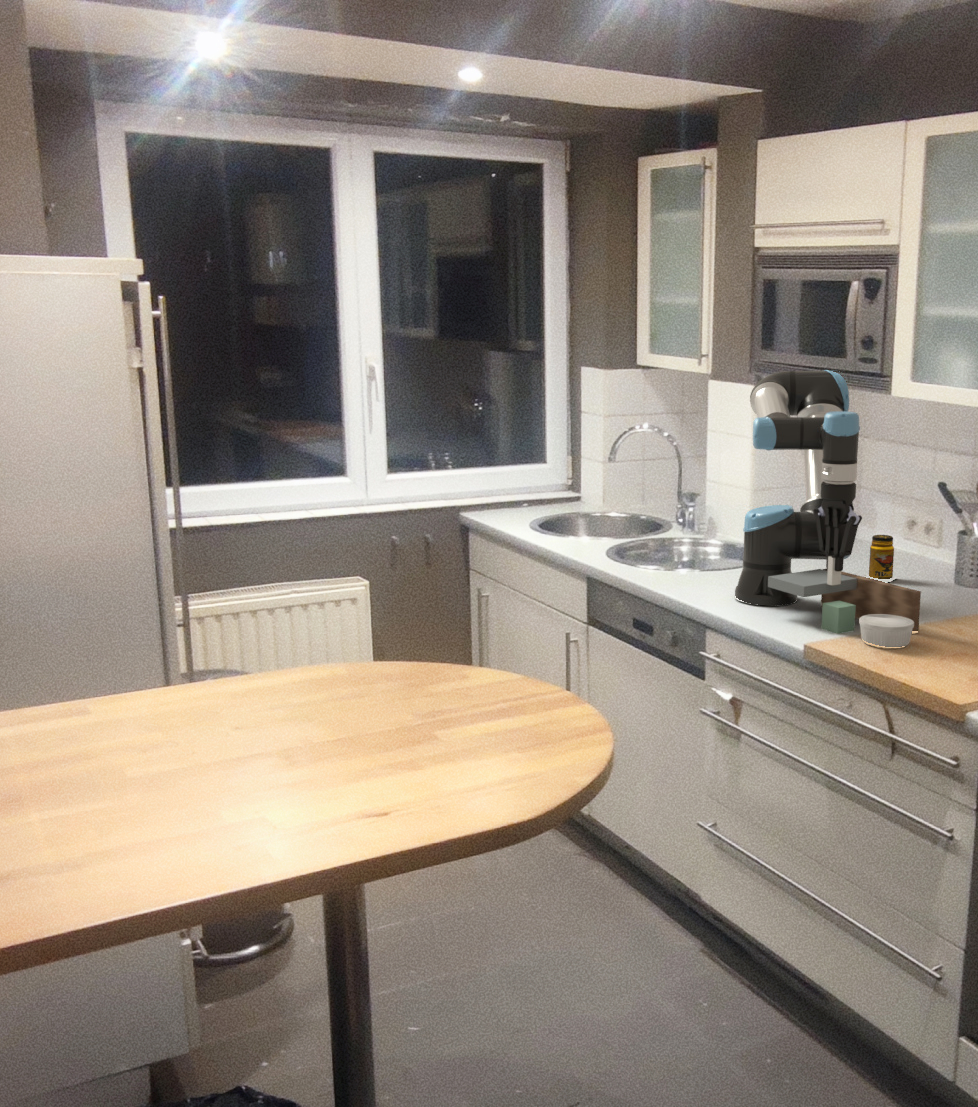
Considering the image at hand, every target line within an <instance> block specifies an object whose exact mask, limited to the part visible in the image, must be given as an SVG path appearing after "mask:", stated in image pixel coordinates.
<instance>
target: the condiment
mask: <svg viewBox="0 0 978 1107" xmlns="http://www.w3.org/2000/svg"><path fill="white" fill-rule="evenodd" d="M871 538H872V540H871V545H870V546H869V563H868V564H869V565H868V574H869V576H870V577H873V578H878V579H890V578H894V577H893V575H894V556H895V547H894V541H893V540H894V537H893V536H892V535H888V534H875V535H873V536H872V537H871Z"/></svg>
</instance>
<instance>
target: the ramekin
mask: <svg viewBox="0 0 978 1107" xmlns="http://www.w3.org/2000/svg"><path fill="white" fill-rule="evenodd" d="M858 623H859V628H860V638H861V640H862V639H863V640H864V641H866V642H868V643H872V644H875V645H879V646H885V647H902V646H906V645H907V646H908V645H909V644H910V641H911V637H912V635H913V634H912V629H913V627H914V621H913V620H911V619H909V618H906V617H902V616H896V615H887V614H870V615H864V616H862V617H860V619H859V620H858ZM863 640H862V641H863ZM907 646H906V647H907Z"/></svg>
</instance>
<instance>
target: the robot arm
mask: <svg viewBox="0 0 978 1107" xmlns="http://www.w3.org/2000/svg"><path fill="white" fill-rule="evenodd" d="M833 371H834V370H828V369H823V370H782V371H781V370H780V371H777V372H773V373H771V374H769V375H766V376H765V377H763V378H761V379H760V380H759V381H758V382H757V383H756V384H755V385H754V387H753V388H752V390H751V392H750V395H749V402H750V407H751V410H752V411H753V413H754V414H755V415H756V416H757V417H756V418H754V419H753V420H754V421H753V423H752V424H753V425H752V445H753V446H752V447H753V448H754V449H756V450H764V451H765V450H766V451H789V450H790V451H794V450H796V451H799V450H800V451H804V453H803V455H804V456H803V457H804V477H805V480H804V481H805V502H804V503H802V504H801V505H800V509H799V510H800V511H795V509H794V507H793V506H792V505H789V504H774V505H773V504H772V505H766V506H760V507H759V506H758V507H756V508H752V509H750V510H748V511H747V513H746V514H745V515H744V524H743V529H742V530H743V555H742V570H741V573H740V576H739V579H738V582H737V585H736V587H735V588H734V597H735V596H736V598H738V599H739V600H742V601H744V602H747V603H751V604H750V605H752V604H758V605H757V606H760V605H769V606H768V607H778V606H777V605H782V606H788V605H787V604H789V605H792V604H795V603H796V602H797V601H798V596H797V595H794V594H790V593H787V592H784V591H780V590H777V589H773V588H770V587H768V576H775V575H782V574H789V573H793V572H792V560H826V563H825V564H826V565H825V566H826V568H825V569H828V573H827V584H828V585H831V586H832V585H838V584H841V571H842V572H843V570H844V561H845V559H848V558H849V557H850V556H851V555H852V553H853V552H852V551H853V549H854V544H855V540H856V535H857V532H858V528H859V525H860V523H861V521H862V520H863V516H862V515H860V514H859V515H858V514H857V513H856V512H855V511H854V510H855V508H854V504H853V502H854V501H855V499H856V495H857V484H856V482H855V481H857V476H858V474H857V473H858V450H859V437H860V436H859V435H860V434H859V433H860V430H861V426H860V415H859V414H858V413H857V412H854V411H853V412H852V411H849V409H850V408H849V407H850V396H849V395H850V391H849V385H848V386H847V384H848V382H847V383H846V380H847V379H846V380H844V378H843V377H842V376H841V375H840V374H838V373H836V372H833ZM793 416H795V417H793ZM796 600H797V601H796ZM794 602H795V603H794ZM791 603H792V604H791ZM770 605H771V606H770ZM772 605H773V606H772ZM775 605H776V606H775Z"/></svg>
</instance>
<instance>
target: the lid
mask: <svg viewBox="0 0 978 1107" xmlns="http://www.w3.org/2000/svg"><path fill="white" fill-rule="evenodd" d="M827 573H828V571H826V570H823V568H818V569H810V570H805V571H796V572H792V573H789V574H782V575H775V576H768V587H770V588H773V589H777V590H780V591H784V592H787V593H790V594H794V595H797V597H802V598H808V597H815V596H819V595H821V596H822V594H828V593H834V592H840V591H847V590H853V589H857V578H853V577H850V576H846V575H842V574H841V584H838V585H832V586H831V585H828V584H827Z"/></svg>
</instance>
